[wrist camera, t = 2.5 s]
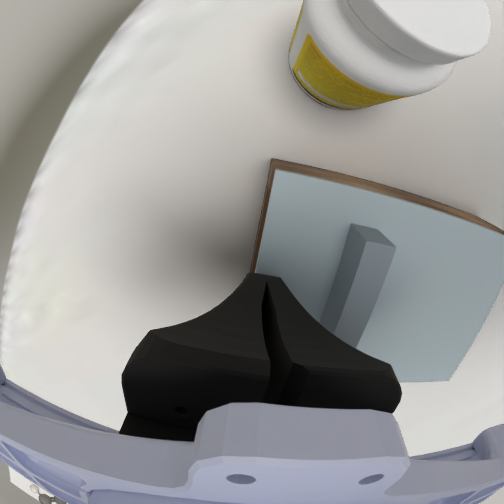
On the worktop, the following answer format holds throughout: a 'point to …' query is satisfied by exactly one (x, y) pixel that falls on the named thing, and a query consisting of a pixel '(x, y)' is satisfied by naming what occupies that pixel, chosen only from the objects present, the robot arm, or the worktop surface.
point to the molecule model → (45, 496)
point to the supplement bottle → (382, 47)
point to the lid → (383, 271)
